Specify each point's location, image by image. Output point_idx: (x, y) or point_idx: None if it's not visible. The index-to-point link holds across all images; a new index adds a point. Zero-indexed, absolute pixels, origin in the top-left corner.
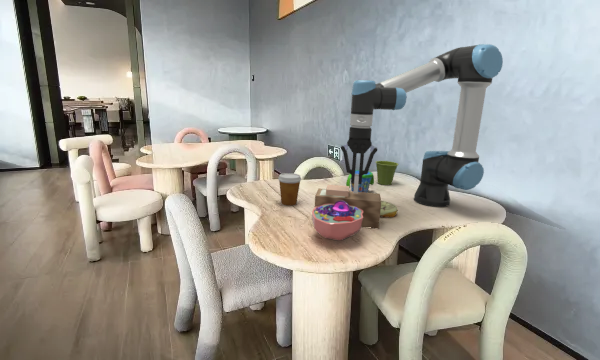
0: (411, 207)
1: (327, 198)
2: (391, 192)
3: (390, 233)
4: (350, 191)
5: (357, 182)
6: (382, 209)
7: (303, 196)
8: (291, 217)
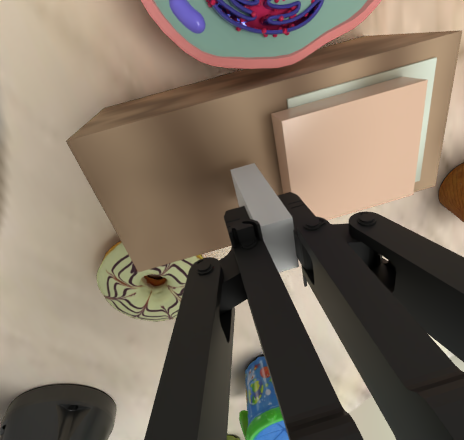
0: (93, 352)
1: (381, 51)
2: None
3: (38, 81)
4: None
5: (250, 198)
6: None
7: None
8: None
